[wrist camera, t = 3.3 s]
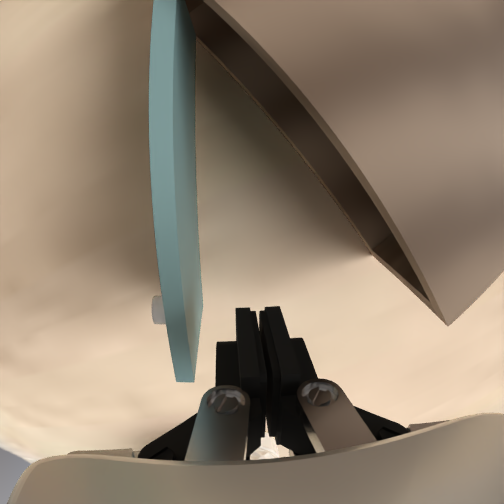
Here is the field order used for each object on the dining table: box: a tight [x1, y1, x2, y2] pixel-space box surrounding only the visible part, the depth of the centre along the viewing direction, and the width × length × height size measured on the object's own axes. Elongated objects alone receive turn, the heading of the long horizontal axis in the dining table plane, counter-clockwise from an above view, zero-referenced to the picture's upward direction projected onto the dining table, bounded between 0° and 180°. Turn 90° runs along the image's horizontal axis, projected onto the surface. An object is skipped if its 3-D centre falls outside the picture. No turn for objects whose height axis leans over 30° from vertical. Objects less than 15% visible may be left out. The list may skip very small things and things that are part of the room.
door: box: [149, 0, 203, 382], centre depth 13 cm, size 16×2×7 cm, turn 0°
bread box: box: [185, 0, 504, 326], centre depth 12 cm, size 20×14×9 cm
